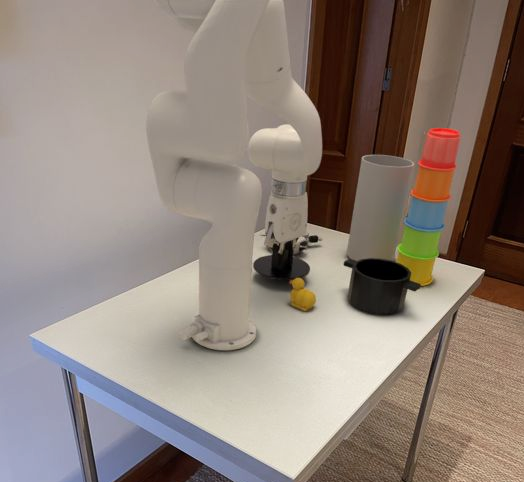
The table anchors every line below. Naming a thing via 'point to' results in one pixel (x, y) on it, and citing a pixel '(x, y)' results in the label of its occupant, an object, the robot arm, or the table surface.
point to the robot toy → (304, 241)
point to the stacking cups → (429, 204)
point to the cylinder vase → (379, 206)
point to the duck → (301, 295)
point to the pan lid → (288, 272)
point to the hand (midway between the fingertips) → (281, 265)
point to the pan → (379, 285)
